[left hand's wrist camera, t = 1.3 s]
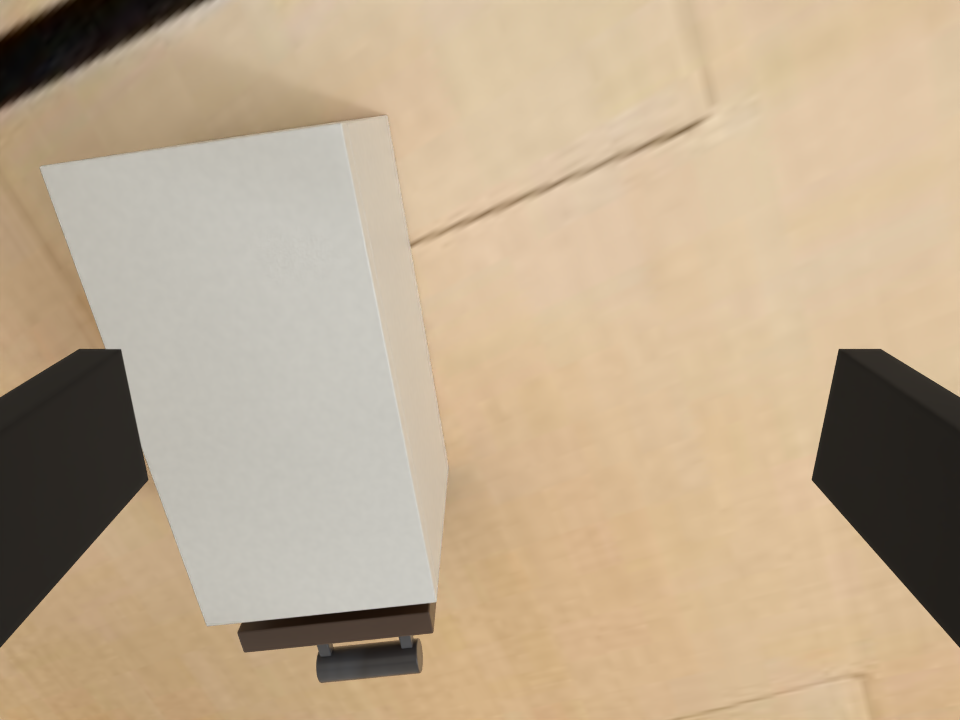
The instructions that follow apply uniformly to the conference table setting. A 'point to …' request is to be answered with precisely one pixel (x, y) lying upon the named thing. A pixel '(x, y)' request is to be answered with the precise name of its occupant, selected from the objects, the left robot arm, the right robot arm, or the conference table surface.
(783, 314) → the conference table surface
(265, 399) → the cabinet
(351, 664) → the drawer
